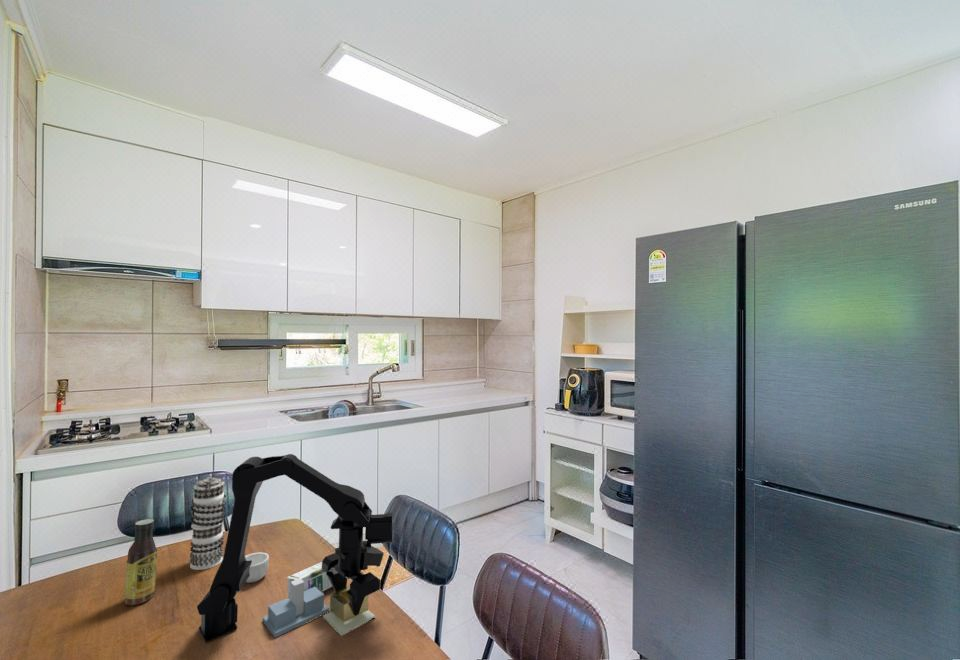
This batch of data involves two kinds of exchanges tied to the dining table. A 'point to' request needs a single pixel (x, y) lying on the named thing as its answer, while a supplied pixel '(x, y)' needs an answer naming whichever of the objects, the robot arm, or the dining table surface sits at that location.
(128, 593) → the sauce bottle
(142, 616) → the dining table surface
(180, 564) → the dining table surface
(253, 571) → the teacup
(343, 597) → the brass collar
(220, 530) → the white patterned cylinder
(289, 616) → the blue stepped base
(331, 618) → the off-white board
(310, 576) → the syrup box
